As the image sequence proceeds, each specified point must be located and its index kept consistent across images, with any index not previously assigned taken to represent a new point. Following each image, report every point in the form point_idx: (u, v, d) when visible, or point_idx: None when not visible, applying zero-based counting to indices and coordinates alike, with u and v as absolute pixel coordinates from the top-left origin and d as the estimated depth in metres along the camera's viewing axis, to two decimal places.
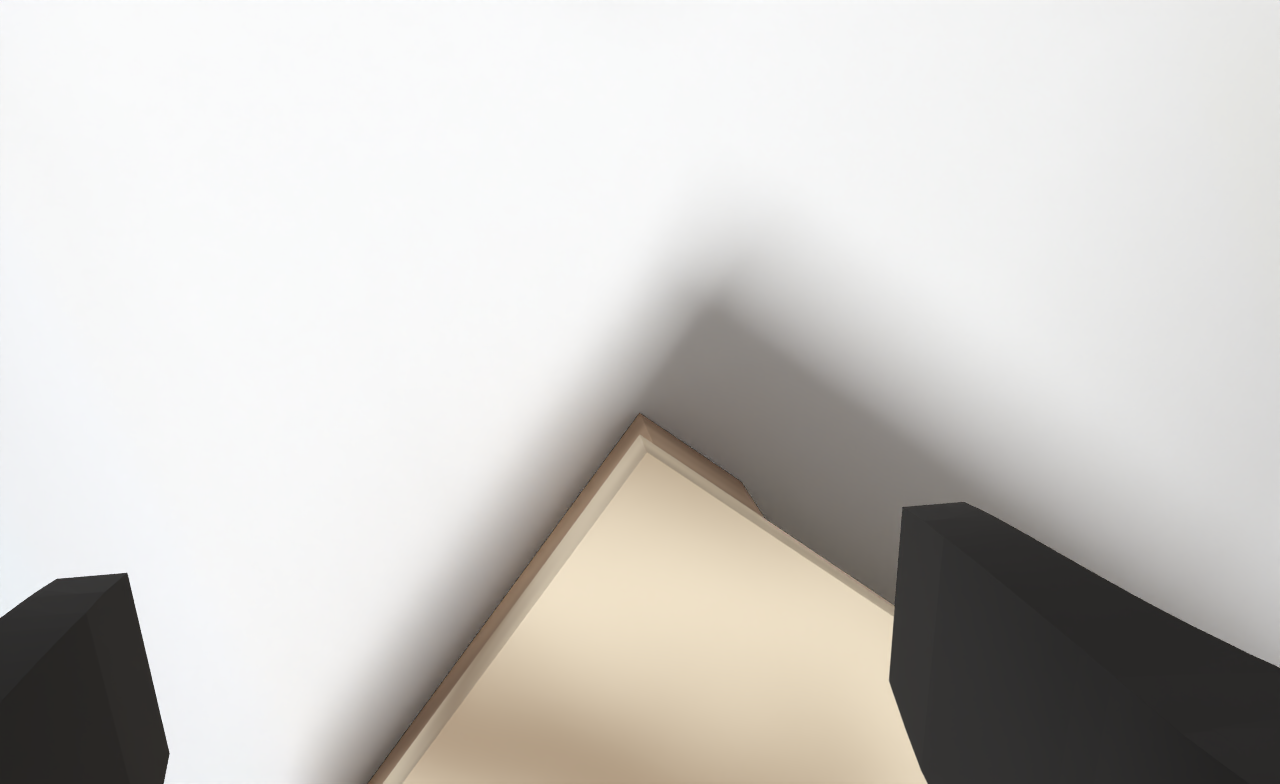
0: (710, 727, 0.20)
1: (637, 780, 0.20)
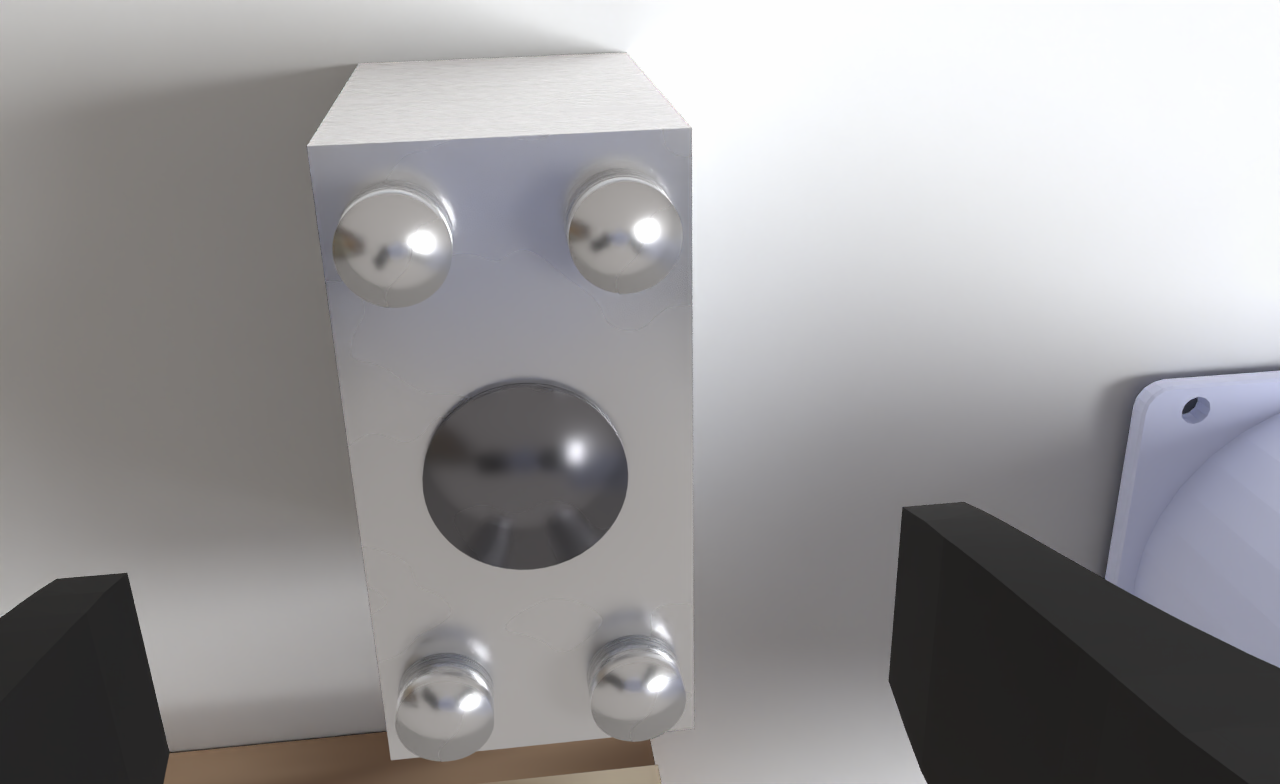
0: None
1: None
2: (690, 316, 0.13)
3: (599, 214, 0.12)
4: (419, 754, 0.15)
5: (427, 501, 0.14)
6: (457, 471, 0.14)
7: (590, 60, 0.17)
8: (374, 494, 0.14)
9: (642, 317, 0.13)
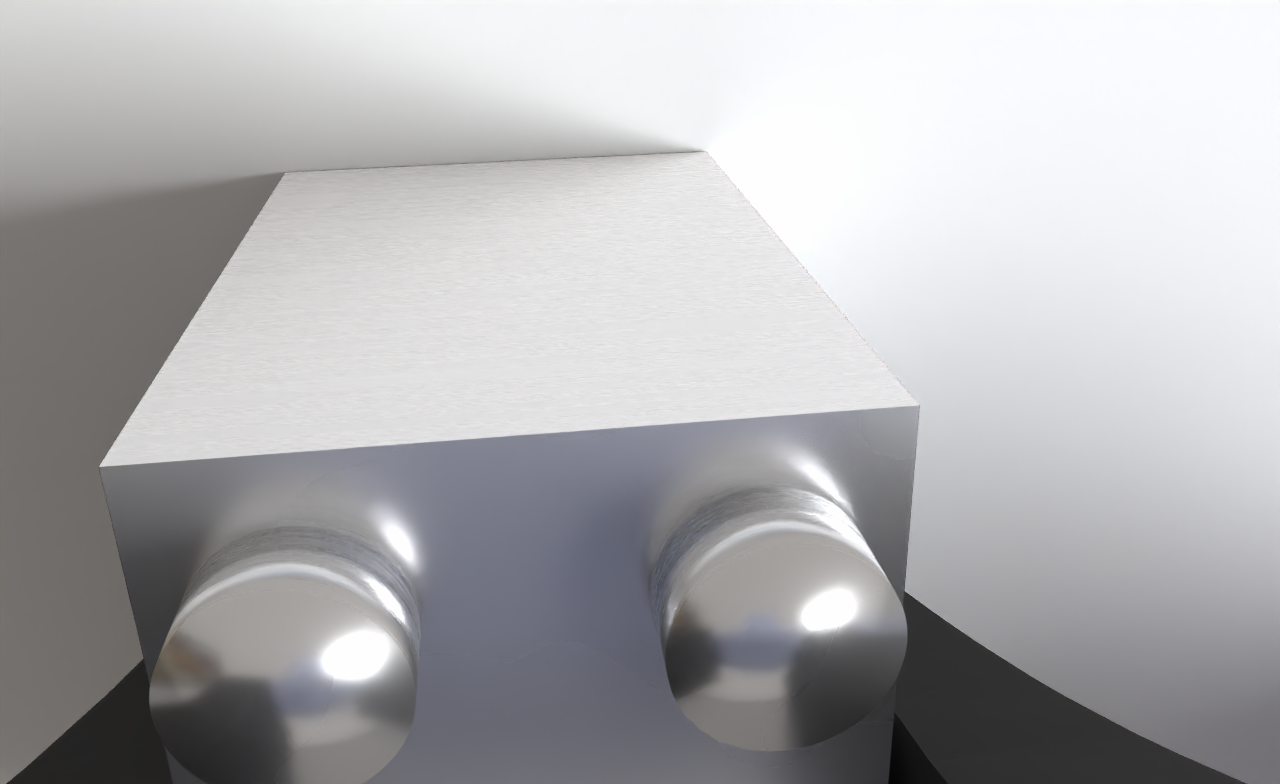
0: None
1: None
2: (888, 739, 0.07)
3: (734, 610, 0.06)
4: None
5: None
6: None
7: (656, 173, 0.11)
8: None
9: None
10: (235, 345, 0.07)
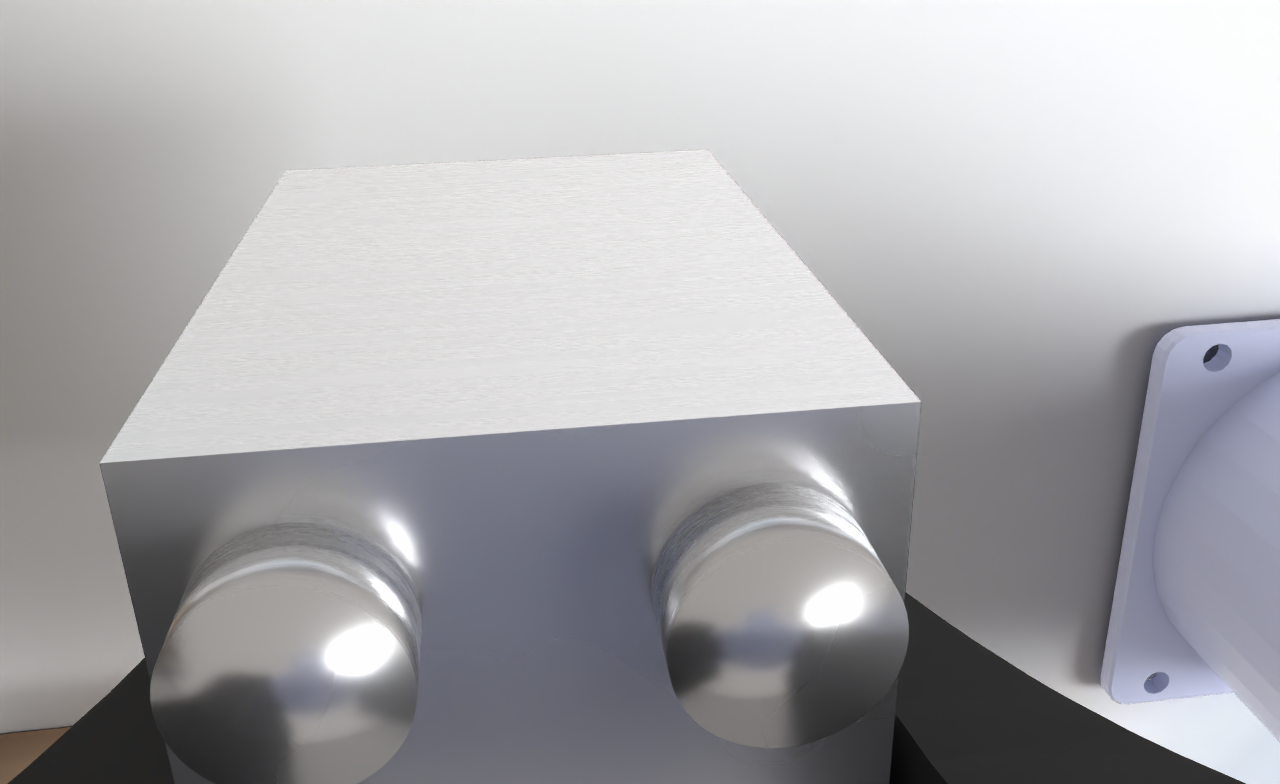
0: None
1: None
2: (889, 736, 0.07)
3: (738, 606, 0.06)
4: None
5: None
6: None
7: (656, 171, 0.11)
8: None
9: None
10: (235, 342, 0.07)
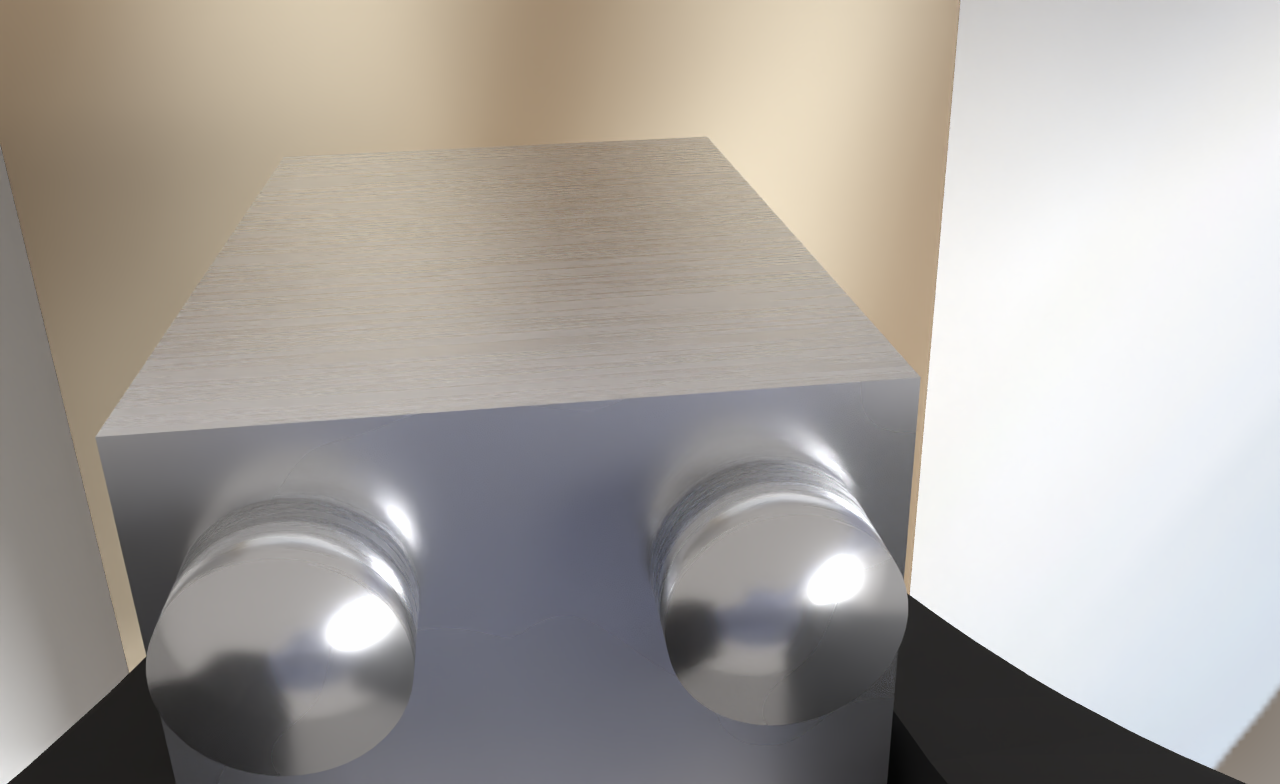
0: None
1: None
2: (889, 716, 0.07)
3: (737, 582, 0.06)
4: None
5: None
6: None
7: (655, 157, 0.11)
8: None
9: None
10: (233, 321, 0.07)
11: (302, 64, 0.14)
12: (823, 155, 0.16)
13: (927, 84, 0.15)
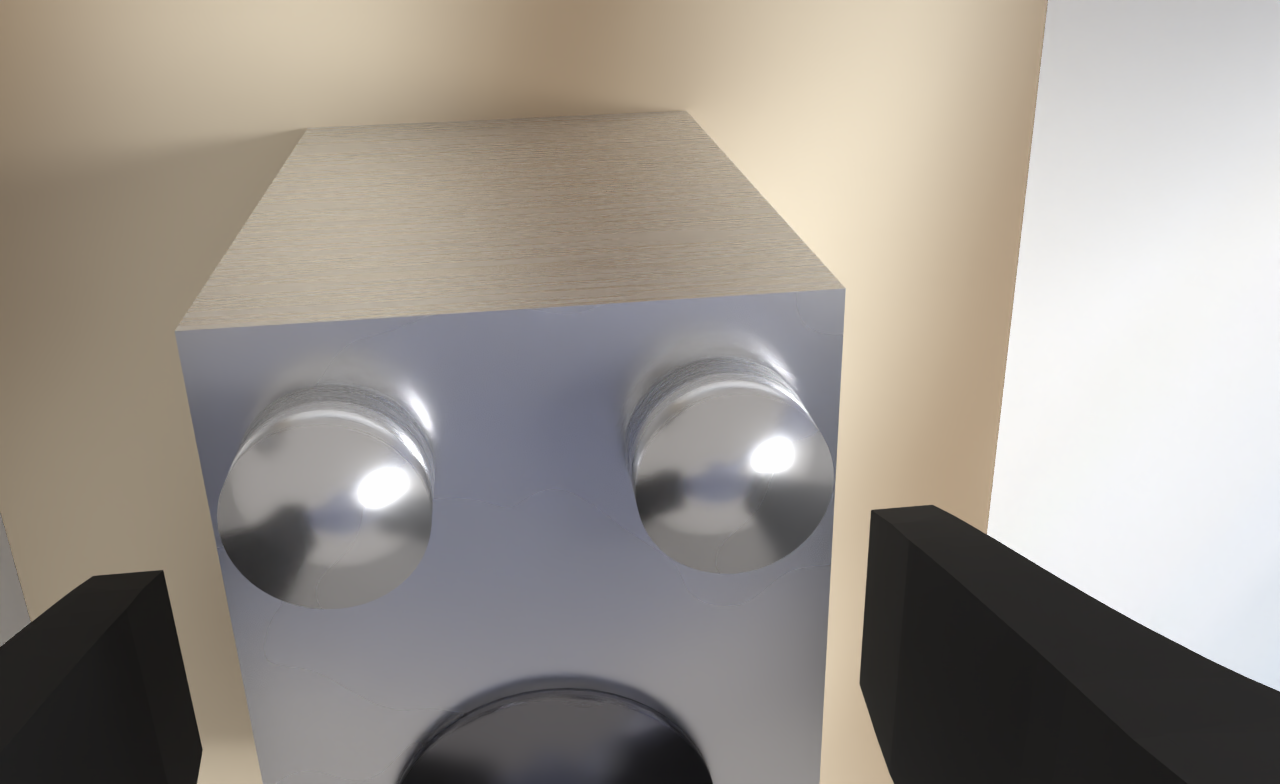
0: None
1: None
2: (827, 582, 0.08)
3: (692, 450, 0.07)
4: None
5: None
6: None
7: (639, 127, 0.12)
8: None
9: (749, 585, 0.08)
10: (276, 251, 0.08)
11: (270, 99, 0.12)
12: (881, 202, 0.13)
13: (1004, 119, 0.13)
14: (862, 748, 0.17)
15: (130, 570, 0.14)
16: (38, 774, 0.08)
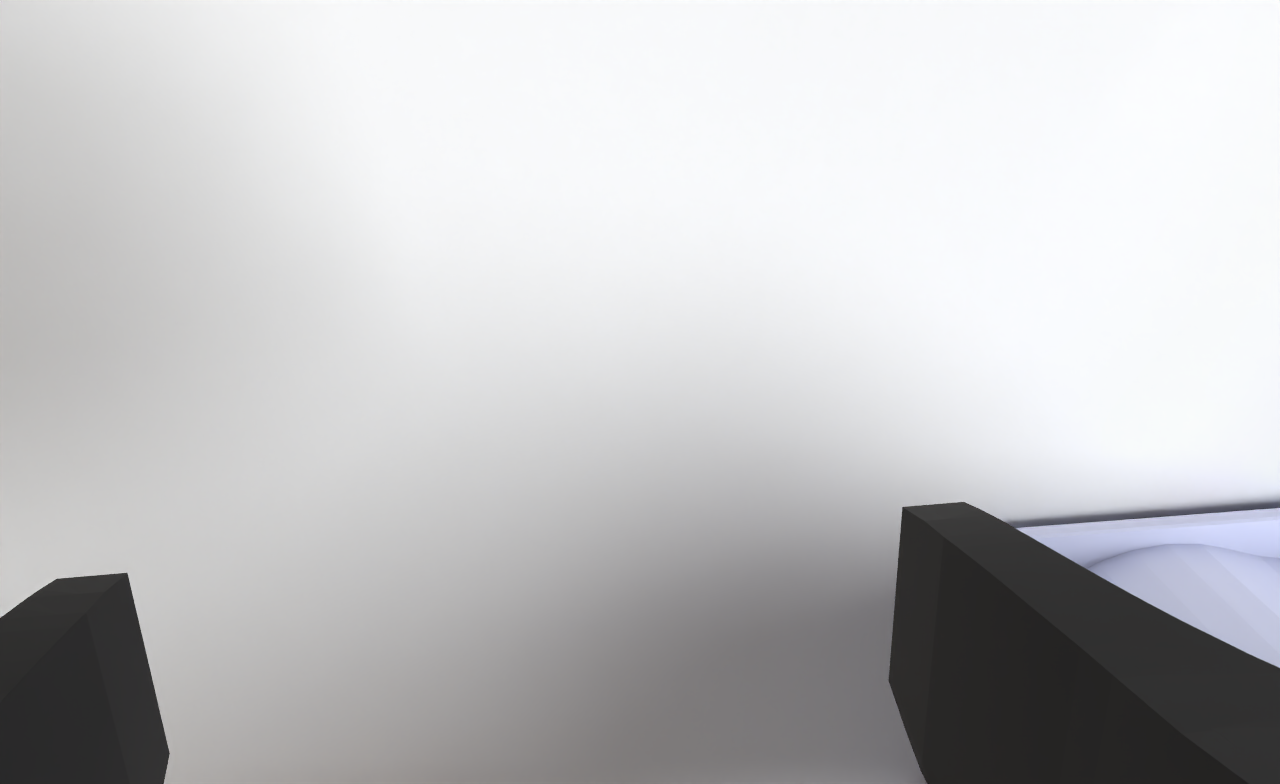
0: None
1: None
2: None
3: None
4: None
5: None
6: None
7: None
8: None
9: None
10: None
11: None
12: None
13: None
14: None
15: None
16: None
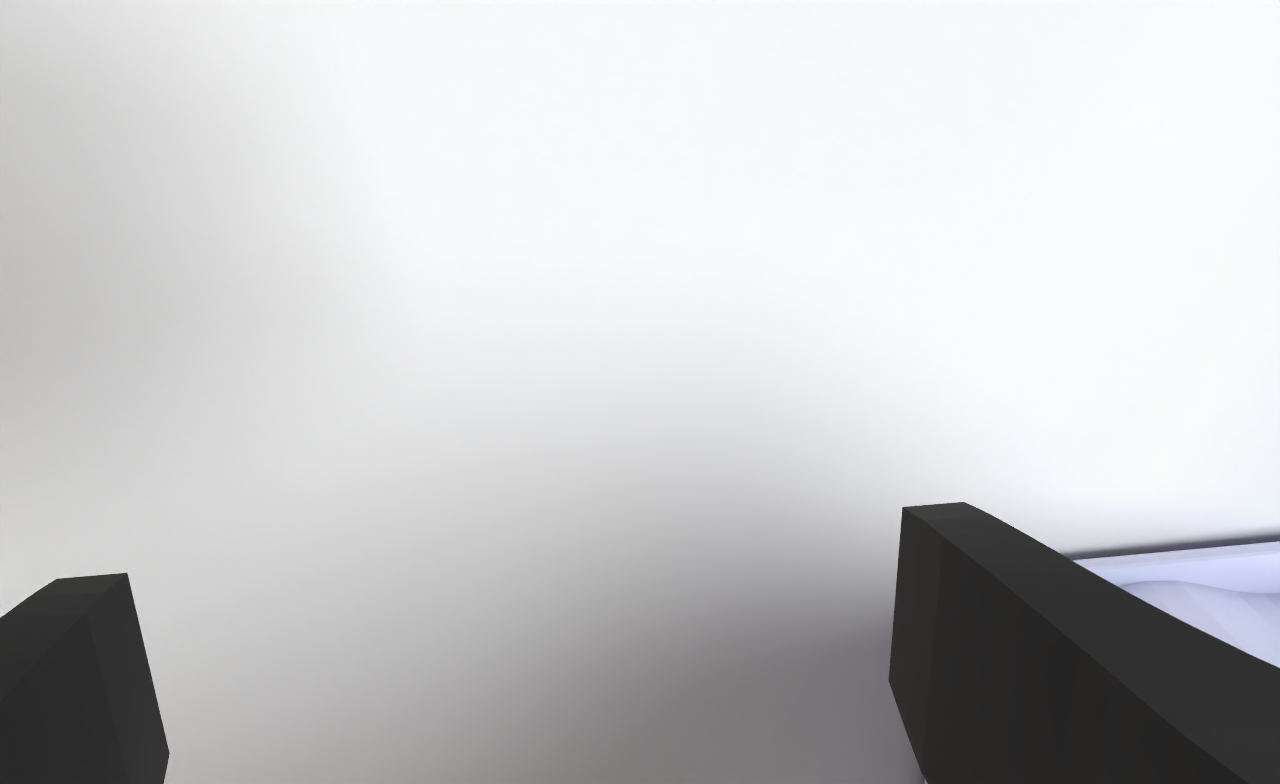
0: None
1: None
2: None
3: None
4: None
5: None
6: None
7: None
8: None
9: None
10: None
11: None
12: None
13: None
14: None
15: None
16: None
